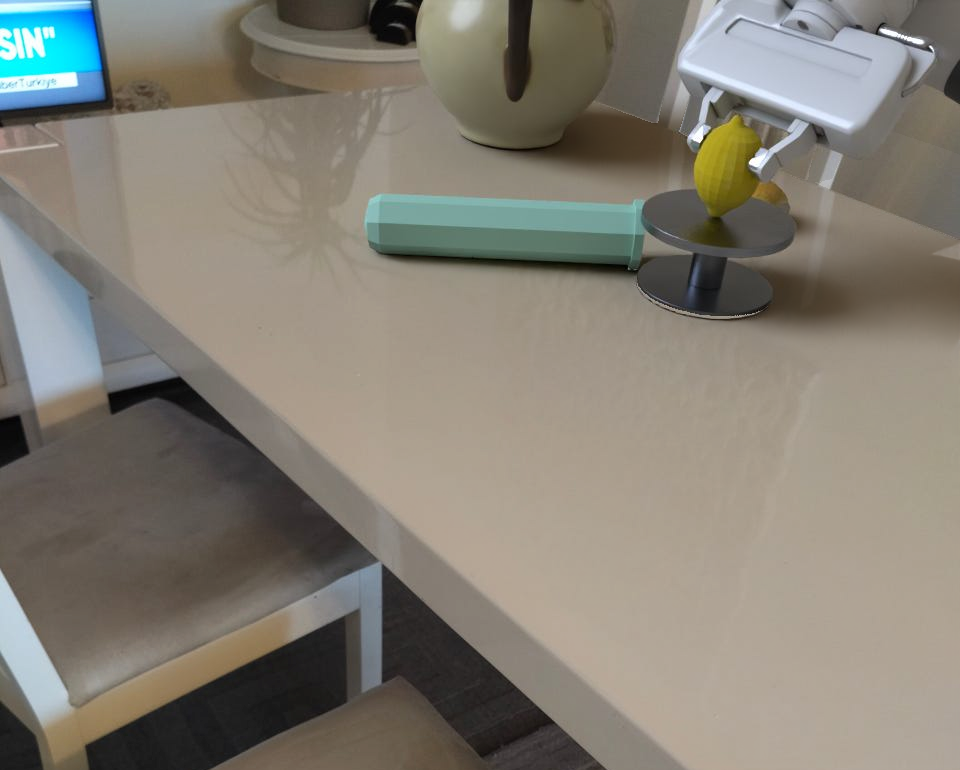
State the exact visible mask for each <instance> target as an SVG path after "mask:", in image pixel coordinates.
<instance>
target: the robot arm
mask: <svg viewBox="0 0 960 770" xmlns="http://www.w3.org/2000/svg"><path fill="white" fill-rule="evenodd" d="M676 71H677V73H678V76H679V78H680V80H681V82H682V84H683V86H684V87H685V89H686V91H687V92H688V94H689V95H690V96H692V97H694V98H697V99H700V100H702V102H701V107H700V112H699V118H698V123H697V124H696V125H695V127H694V128H693V129H692V131H691V132H690V133H689V135H688V136H687V139H686V143H687V145H688V147H689V149H690V151H691V152H692V153H695V154H696V155H698V153H699V151H700V148H701V146H702V144H703V143H704V141H705V139H706V138H707V136H708V135H709V134H710V133H711V132H712V131H713V130H714V129H716V128H717V124H718V120H721V121H724V120H725V119H726V118H727V117H728V116H729V114H730V113H731V112H733V113H735V114H740V116H742V117H746V118H748V119H750V120H751V119H752V120H754V121H756V122H758V123H761V124H764V125H767V126H769V127H772V128H774V129H777V130H779V131H781V132H784V133H787V136H786V137H785V138H783V139H782V140H780V141H779V142H778V143H776V144H774V145H773V146H771V147H770V148H769V149H767V148H764V147H763V148H762V147H761V148H760V149H759V150H758V151H757V153H756V154H755V157H754V158H753V159H751V160H750V162H749V164H748V168H747V169H748V171H749V172H750V173H751V177H753V178H755V179H757V180H759V181H761V182H763V183H769V182H770V181H772V179H773V178H774V176H775V175H776V174H777V173H778V172H779V170H780V169H781V168H785V167H786V166H788V165H789V164H791V163H793V162H795V161H797V160H798V159H800V158H802V157H804V156H806V155H807V154H808V153H809V152H810V151H811V149H812V148H813V147H814V146H815V145H818V146H820V147H823V148H825V149H828V150H831V151H833V152H836V153H838V154H841V155H843V156H845V157H848V158H851V159H853V160H857V161H860V160H863V159H865V158H867V157H869V156H871V155H873V154H875V153H876V152H877V151H878V150H879V149H880V148H881V147H882V145H883V144H884V143H885V141H886V140H887V138H888V137H889V136H890V134H891V132H892V131H893V129H894V128H895V126H896V125H897V123H898V122H899V120H900V119H901V117H902V115H903V114H904V112H905V110H906V109H907V107H908V106H909V104H910V102H911V100H912V98H913V96H914V94H915V92H916V91H918V90H919V89H920V88H922V86H923V85H925V86H928V87H930V88H933V89H934V90H937V91H939V92H941V93H943V95H944V96H945V97H947V98H948V99H949V100H950V99H951V101H953V102H955V103H957V104H958V105H960V0H719V1H718V2H717V3H716V4H715V6H714V7H712V9H711V10H710V11H709V13H708V14H707V15H706V16H705V18H704V19H703V20H702V22H701V23H700V24H699V25H698V27H696V29H695V30H694V32H693V33H692V34H691V36H690V37H689V39H688V40H687V41H686V43H685V44H684V45H683V47H682V49H681V50H680V52H679V53H678V57H677V65H676Z"/></svg>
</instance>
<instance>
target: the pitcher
mask: <svg viewBox="0 0 960 770" xmlns="http://www.w3.org/2000/svg"><path fill="white" fill-rule="evenodd" d="M617 24H618V23H617V19H616V15H615V11H614V8H613V5H612V3H611V0H422V1H421V5H420V7H419V10H418V13H417V17H416V22H415V43H416V44H415V45H416V51H417V55H418V59H419V64H420V67H421V70H422V73H423V74H424V76H425V79H426V81H427V83H428V85H429V86H430V89H431V90H432V92H433V93H434V95H435V97H437V99H438V101H439V102H440V103H441V105H442V106H443V107H444V108H445V109H446V110H447V111H448V112H449V113H450V114H451V115H452V116H453V118H454V119H455V122H456V128H457V131H458V132H459V134H460V135H461V136H462V137H463V138H465V139H467V140H469V141H472V142H474V143H478V144H480V145H485V146H488V147H494V148H500V149H510V150H528V149H537V148H544V147H548V146H551V145H555V144H556V143H557V142H559V141H560V140H561V139H562V137H563V135H564V131H565V130H566V128H567V126H569V125H570V124H571V123H572V122H574V121H576V119H578V118H579V117H580V116H581V115H582V114H583V113H584V112H585V111H586V110H587V109H588V108H589V107H590V106H591V105H592V104H593V102H594V101H595V100H596V99H597V97H598V95H599V94H600V93H601V92H602V90H603V89H604V87H605V85H606V83H607V81H608V79H609V77H610V75H611V71H612V68H613V66H614V63H615V59H616V55H617V49H618V25H617Z"/></svg>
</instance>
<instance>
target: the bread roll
mask: <svg viewBox="0 0 960 770" xmlns="http://www.w3.org/2000/svg"><path fill="white" fill-rule="evenodd" d="M751 197H754V198H757V199H760V200H763V201H766V202H768V203H771V204H773V205H775V206H777V207H779V208H780V209H782V210H783V211H785V212H786V213H788V214H789V215H790V211H791V205H790V203H789V199H788V197H787V194H786V193H785V192H784V191H783V189H782V188H781V187H779V186H778V185H777V184H776V183H775V182H773V181H772V180H770V182H769V183H763V182H761V181H760V183H759V185H758V187H757V189H756V190H755V192H754V194H753V195H752V196H751Z"/></svg>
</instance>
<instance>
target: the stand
mask: <svg viewBox="0 0 960 770" xmlns="http://www.w3.org/2000/svg"><path fill="white" fill-rule="evenodd" d="M641 223H642V225H643V227H644V228H645V232H647V233H648V234H650V235H651V236H652V237H654V238H655V239H656V240H659V241H660V242H663V243H664V244H667V245H669V246H671V247H674V248H677V249H680V250H683V251H686V252H691V253H692V254H673V255H666V256H661V257H657V258H654V259H651V260H649V261H647V262H646V263H644V264H643V265H642V266H641V267H640V268H638V270H637V274H636V279H637V283H638V286H639V287H640V288H641V290H642V291H643V292H644V293H645V294H647V295H648V296H649V297H650V298H652V299H654V300H655V301H658V302H659V303H662V304H664V305H667V306H669V307H672V308H675V309H678V310H682V311H687V312H690V313H695V314H699V315H710V316H735V315H736V316H737V315H738V316H739V315H745V314H746V315H747V314H752V313H756V312H758V311H761V310H763V309H764V310H766V309H767V308H768V307H769V305H770V304H771V301H772V300H773V299H772V298H773V294H774V290H773V289H774V288H773V286H772V284H771V283H770V281H769V280H768V279H767V278H766V277H765V276H764V275H762V274H761V273H759V272H758V271H756V270H755V269H753V268H751V267H749V266H747V265H745V264H741V263H739V262H736V261H733V260H729V259H749V258H751V259H752V258H760V257H761V258H762V257H767V256H771V255H775V254H777V253H780V252H782V251H784V250H786V249H787V248H789V247H790V246H791V245H792V243H793V242H794V239H795V235H796V231H797V224H796V222H795V220H794V219H793V217H792V216H791V215H790V213H789V214H788V213H786V212H785V211H783V210H782V209H780V208H779V207H777V206H775V205H773V204H771V203H768V202H766V201H763V200H760V199H757V198H754V197H750V198H749V200H748V201H746V202H745V203H744V204H743V205H741V206H739V207H737V208H735V209H733V210H731V211H729V212H727V213H726V214H725V215H723V216H721V217H714V216H712V215H710V213H709V212H708V209H707V206H706V204H705V203H704V202H703V201H702V199H701V198H700V196H699V194H698V192H697V189H696V188H686V189H676V190H670V191H664V192H661V193H658V194H656V195H653V196H652V197H650V198H648V199H647V200H646V201H644V205H643V207H642V212H641ZM767 306H768V307H767ZM766 307H767V308H766ZM765 308H766V309H765ZM764 310H763V311H764ZM761 312H762V311H761Z"/></svg>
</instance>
